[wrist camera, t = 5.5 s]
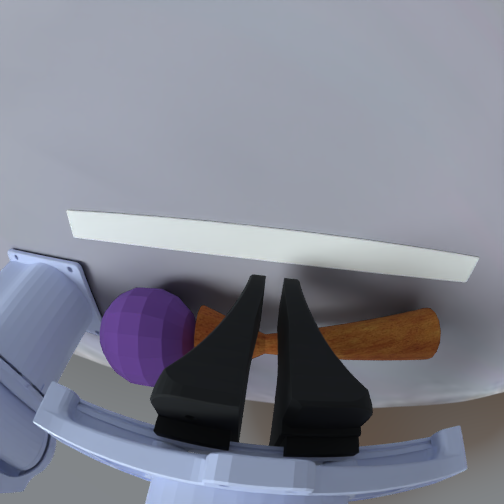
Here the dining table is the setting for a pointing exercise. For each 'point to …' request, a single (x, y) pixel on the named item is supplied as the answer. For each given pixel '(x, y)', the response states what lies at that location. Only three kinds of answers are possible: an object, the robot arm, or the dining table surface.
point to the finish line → (271, 245)
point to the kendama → (193, 332)
